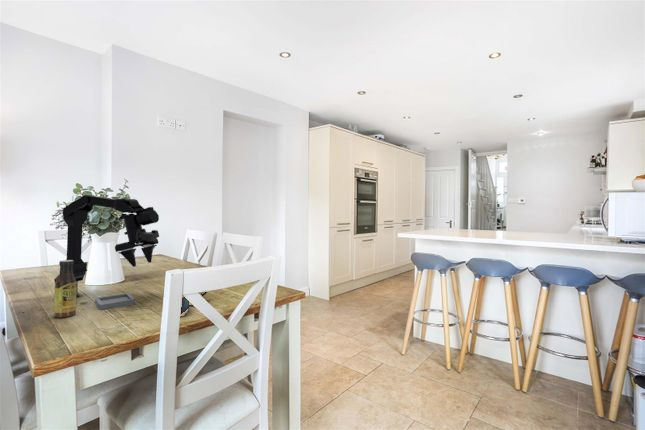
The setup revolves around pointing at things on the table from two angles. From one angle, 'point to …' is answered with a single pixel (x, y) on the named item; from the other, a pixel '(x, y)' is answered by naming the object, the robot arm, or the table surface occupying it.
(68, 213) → the robot arm
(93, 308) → the table surface
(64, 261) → the sauce bottle
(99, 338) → the table surface
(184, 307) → the flask
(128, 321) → the table surface
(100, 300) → the keeper tray
